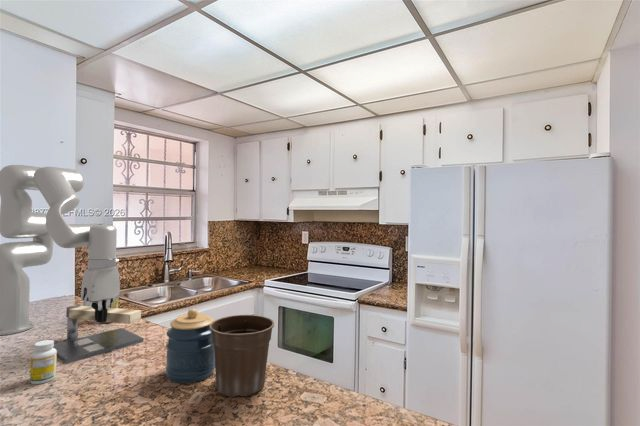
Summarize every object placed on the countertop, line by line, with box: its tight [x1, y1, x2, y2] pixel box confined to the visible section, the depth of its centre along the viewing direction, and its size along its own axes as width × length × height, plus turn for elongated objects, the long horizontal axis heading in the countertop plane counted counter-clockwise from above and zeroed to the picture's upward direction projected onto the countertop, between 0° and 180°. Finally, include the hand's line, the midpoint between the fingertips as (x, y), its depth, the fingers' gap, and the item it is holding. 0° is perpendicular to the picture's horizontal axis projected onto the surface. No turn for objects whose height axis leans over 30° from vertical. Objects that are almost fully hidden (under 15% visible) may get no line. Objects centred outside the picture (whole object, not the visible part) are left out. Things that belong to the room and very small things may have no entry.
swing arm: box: [65, 304, 142, 325], centre depth 115 cm, size 26×5×3 cm, turn 80°
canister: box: [165, 308, 215, 384], centre depth 95 cm, size 13×13×18 cm
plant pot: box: [210, 314, 275, 398], centre depth 89 cm, size 16×16×16 cm
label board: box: [53, 317, 145, 365], centre depth 114 cm, size 22×22×8 cm
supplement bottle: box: [29, 339, 58, 385], centre depth 90 cm, size 5×5×10 cm
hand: (101, 321), depth 110 cm, fingers closed
